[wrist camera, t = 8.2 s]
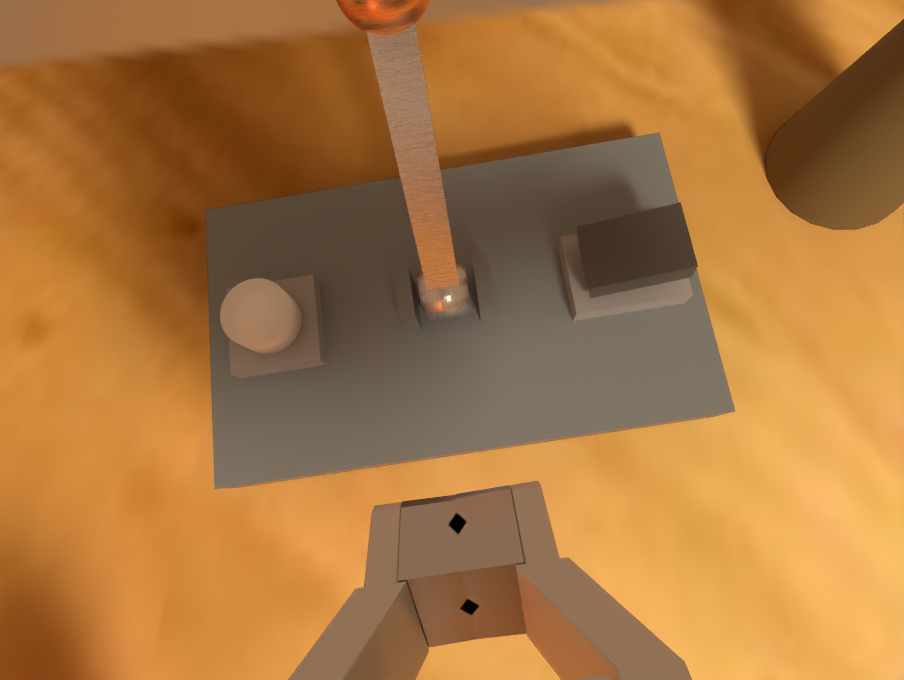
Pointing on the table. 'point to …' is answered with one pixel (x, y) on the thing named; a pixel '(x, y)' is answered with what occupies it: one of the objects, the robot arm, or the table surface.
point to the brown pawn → (846, 144)
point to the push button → (260, 316)
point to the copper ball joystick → (414, 147)
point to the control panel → (452, 322)
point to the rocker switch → (636, 250)
